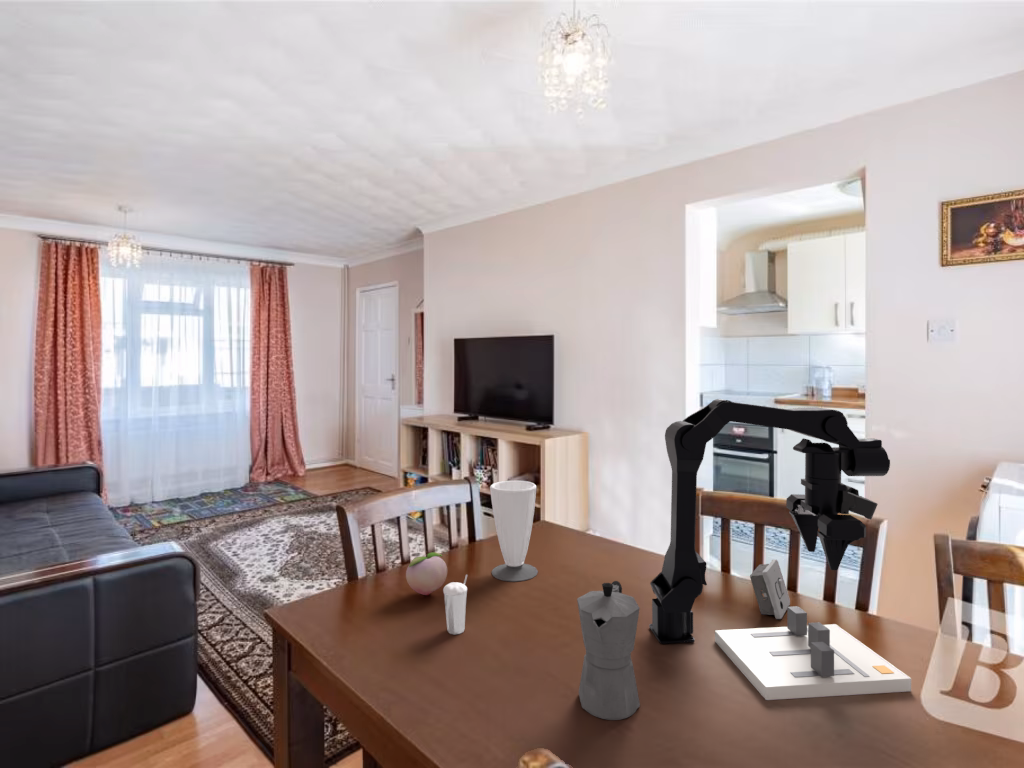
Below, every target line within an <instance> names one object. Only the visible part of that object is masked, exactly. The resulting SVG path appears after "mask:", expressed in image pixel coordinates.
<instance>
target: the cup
mask: <svg viewBox="0 0 1024 768" xmlns="http://www.w3.org/2000/svg"><path fill="white" fill-rule="evenodd" d="M489 490H490V499H491V505H492V506H491V507H492V508H491V509H492V515H493V519H494V524H495V529H496V530H495V531H496V535H497V539H498V544H499V547H500V551H501V554H502V558H503V560H504V563H503V564H499V565H497V566H495V567H494V568H493V569H492V570H491V574H492V577H494V579H497V580H500V581H503V582H509V583H510V582H513V583H515V582H525V581H528V580H531V579H533V578H535V577H536V576H537V575H538V573H539V570H538V569H537V567H535V566H533V565H532V564H529V563H525V560H526V556H527V554H528V549H529V544H530V541H531V540H530V539H531V536H532V535H531V534H532V529H533V524H534V523H533V522H534V515H535V508H536V507H535V506H536V499H537V498H536V496H537V485H536V484H535V483H534V482H531V481H527V480H514V479H513V480H503V481H497V482H493V483H492V484H491V485H490V486H489Z"/></svg>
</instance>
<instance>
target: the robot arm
mask: <svg viewBox="0 0 1024 768" xmlns="http://www.w3.org/2000/svg"><path fill="white" fill-rule="evenodd" d="M729 423H738V424H739V423H740V424H746V425H754V426H761V427H767V428H775V429H776V428H777V429H783V430H788V431H792V432H794V433H796V434H801V435H803V436H807V437H810V438H814V439H817V440H821V441H824V442H812V441H811V440H810V439H808V438H804V437H803V438H801V440H800V442H798V443H797V444H794V446H793V447H792V449H793V450H794V451H796V452H799V453H801V454H805V457H804V458H805V459H804V471H805V473H804V474H805V475H804V478H800V485H802V486H803V487H804V494H799V493H798V494H795V493H793V494H790V495H789V496H788V497H787V498H786V501H785V502H786V506H785V507H786V509H788V510H789V511H788V512H789V514H790V516H791V518H792V519H793V523H794V524H795V525H796V528H797V530H798V532H799V534H800V537H801V539H802V541H803V543H804V545H805V547H806V549H807V551H808V552H809V553H810V552H811V553H814V552H815V551H816V548H817V547H816V546H817V542H818V541H817V540H818V538H819V540H820V543H821V546H822V549H823V553H824V556H825V560H826V561H827V565H828V567H829V569H830V570H831V571H838V570H839V567H840V565H841V563H842V560H843V559H844V558H843V557H844V556H845V552H846V551H847V548H848V547H849V545H850V544H852V543H854V542H855V541H860V540H861V539H864V538H866V537H867V525H865V524H864V523H863V521H862V520H860V519H858V518H857V517H854V515H851V514H850V512H851V513H853V514H857V515H860V516H862V517H864V518H865V519H868V520H870V521H871V520H872V519H873V517H874V514H875V512H876V511H877V510H876V509H877V506H878V503H877V502H875V501H873V500H871V499H870V498H869V499H868V498H867V497H864V496H862V495H860V494H859V490H858V489H857V488H855V487H853V486H849V485H847V484H844V483H843V482H842V472H843V473H844V474H845V475H846V476H847V477H883V476H886V475H887V474H888V472H889V470H890V468H891V467H890V466H891V459H889V455H888V453H887V451H886V449H885V448H884V447H883V443H882V442H883V441H882V439H877V438H866V439H859V438H857V436H856V435H855V433H854V432H853V430H851V428H850V426H849V425H848V424H849V423H848V420H847V417H846V416H845V415H844V413H843V412H842V411H839V410H836V409H831V408H822V407H817V406H816V407H815V406H814V407H808V406H807V407H795V408H778V407H772V406H765V405H757V404H750V403H741V402H735V401H731V400H728V399H723V398H717V399H714V400H712V401H711V402H710V403H708V404H707V405H706V406H704V407H703V408H701V409H699V410H697V411H695V412H693V413H691V414H690V415H689V416H686V418H684V419H683V420H679V421H675V422H672V423H671V424H669V426H668V427H666V430H665V432H664V433H665V434H664V440H665V446H666V452H667V456H668V461H669V464H670V467H671V498H670V499H671V502H670V503H671V505H670V542H669V545H668V548H667V549H666V552H665V555H664V557H663V558H664V559H663V562H662V563H663V564H662V569H661V572H659V574H657V575H656V576H655V577H654V578H653V579H651V581H650V583H649V584H650V587H651V590H652V592H653V594H654V595H655V598H652V599H651V605H652V606H651V610H652V613H651V614H652V622H651V623H649V624H648V626H649V629H650V630H651V631H652V634H653V635H654V636H655V638H656V640H657V641H658V643H660V644H678V643H679V644H682V643H694V642H695V637H694V636H693V635H692V634H694V612H693V611H692V609H693V605H694V604H695V601H696V599H697V598H698V597H699V596H701V595H702V593H703V588H704V586H707V585H708V584H707V581H706V572H707V571H706V570H707V562H706V560H705V559H703V557H702V556H701V555H700V554H699V553H698V552H697V551H696V525H697V524H696V522H697V521H696V520H697V519H696V518H697V517H696V516H697V482H698V481H697V477H698V471H699V469H700V466H701V465H702V463H703V460H704V457H705V451H706V446H707V443H709V441H711V440H712V439H714V438H715V437H716V436H717V435H718V434H719V433H720V432H721V430H723V429H724V427H725V426H726V425H728V424H729ZM829 443H830V444H834V445H837V446H838V447H836V446H834V447H832V445H830V444H829Z"/></svg>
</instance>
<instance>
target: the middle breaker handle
mask: <svg viewBox="0 0 1024 768" xmlns="http://www.w3.org/2000/svg"><path fill="white" fill-rule="evenodd" d="M824 625H825V624H822V623H821V622H820V621H818V622H817V621H816V622H815V621H814V622H807V626H808V646H809V647H810V648H811V642H824V643H825V644H826V645H828V646H829V647H830V630H829V629H828V628H827V627H825V626H824Z"/></svg>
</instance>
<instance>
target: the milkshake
mask: <svg viewBox="0 0 1024 768" xmlns="http://www.w3.org/2000/svg"><path fill="white" fill-rule="evenodd" d="M468 576H469V575H468V574H465V576H464V577H465V578H464V580H463V583H462V582H457V581H456V582H454V581H452V582H449V583H447V584H446V585H445V586H444V587H443V589H442V592H443V599H444V600H443V601H444V606H445V609H444V610H445V618H446V619H445V620H446V628H447V632H448V633H449V635H455V636H456V635H461V634H462V633H464V631H465V628H466V626H465V625H466V610H467V608H466V607H467V594H468V587H467V585H466V583H467V579H468Z"/></svg>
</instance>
